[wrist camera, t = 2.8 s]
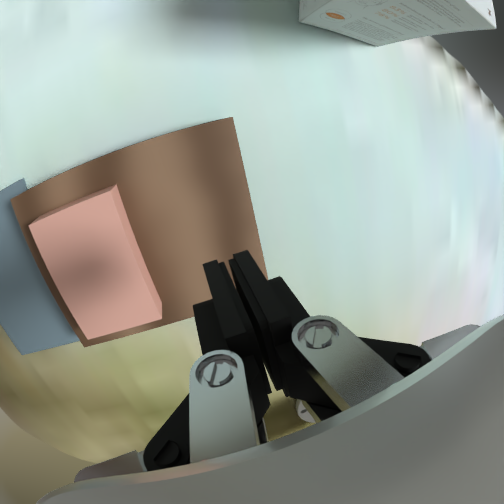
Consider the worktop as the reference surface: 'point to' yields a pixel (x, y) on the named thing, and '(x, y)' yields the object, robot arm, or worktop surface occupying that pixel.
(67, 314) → the platform
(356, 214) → the worktop surface
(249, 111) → the worktop surface
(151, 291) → the tile
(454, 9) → the small box
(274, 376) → the robot arm
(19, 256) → the mat
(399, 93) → the worktop surface
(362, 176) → the worktop surface
